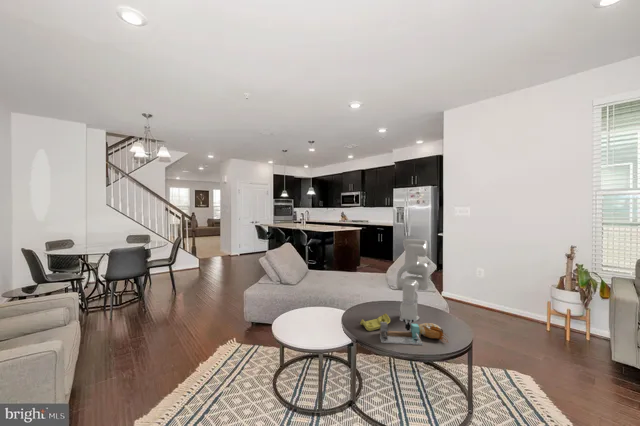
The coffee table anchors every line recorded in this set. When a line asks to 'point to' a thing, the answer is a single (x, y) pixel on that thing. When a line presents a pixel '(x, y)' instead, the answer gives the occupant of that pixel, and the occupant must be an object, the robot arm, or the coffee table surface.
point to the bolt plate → (401, 340)
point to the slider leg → (415, 330)
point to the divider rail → (386, 333)
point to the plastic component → (375, 322)
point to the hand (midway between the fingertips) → (407, 329)
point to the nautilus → (431, 331)
